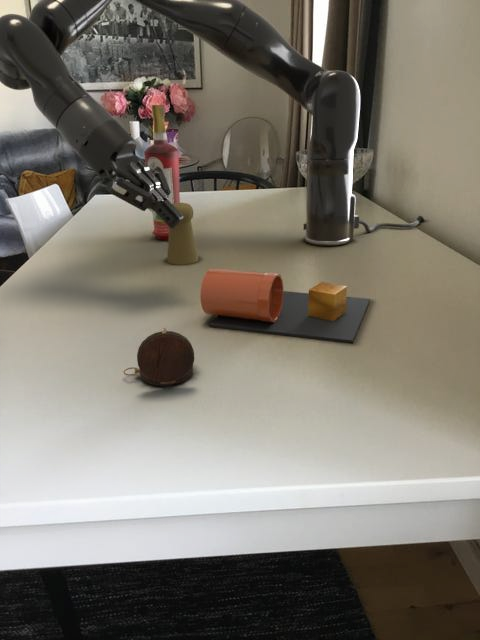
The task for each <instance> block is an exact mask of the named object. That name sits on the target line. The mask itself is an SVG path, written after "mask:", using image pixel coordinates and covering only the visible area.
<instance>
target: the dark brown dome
mask: <svg viewBox="0 0 480 640" xmlns="http://www.w3.org/2000/svg"><path fill="white" fill-rule="evenodd" d="M136 361H137V366H138V367H127V368H125V369H124V370H123V371H122V372H123V374H124V375H126V376H128V377H129V376H136V375H138V374H139V375H140V378H141V379H142V381H144V382H146V383H147V384H150V385H154V386H173V385H176V384H180V383H182V382H184V381H186V380H188V379H189V378H190V377H191V376H192V375H193V373H194V362H195V350H194V347H193V345H192V342H191V341H190V340H189V339H188V338H187V337H186V336H185V335H183V334H181V333H179V332H176V331H172V330H167V329H166V328H165V327H164V328H163V330H162V331H157V332H154V333H152V334H149V335H148V336H147V337H146V338H145V339H144V340H142V341H141V343H140V344H139V346H138V349H137V352H136ZM133 369H134V373H129V374H128V373H126V371H128V370H133Z"/></svg>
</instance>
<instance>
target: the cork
mask: <svg viewBox="0 0 480 640" xmlns="http://www.w3.org/2000/svg"><path fill="white" fill-rule="evenodd" d="M173 206H174V207H175V208H176V209H177V210H178V211H179V212H180V213H181V214H182V215H183V216H184V220H183V221H182V222H181V223H180V224H179V225H178V226H177V227H175V228H170V227H169V240H167V241H168V243H167V244H168V245H167V261H166V262H167V263H168V264H171V265H178V266H180V265H181V266H182V265H191V264H195V263H197V262H198V261H199V255H198V250H197V244H196V240H195V234H194V229H193V224H192V219H194V209H193V206H192V205H191V204H190V203H186V202H180V203H174V204H173Z"/></svg>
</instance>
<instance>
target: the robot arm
mask: <svg viewBox="0 0 480 640" xmlns="http://www.w3.org/2000/svg"><path fill="white" fill-rule="evenodd" d="M112 1H113V0H39V1H38V2H37V3H36V4H34V6H33V7H32V8H31V11H30V13H29V17H26V16H24V15H21V14H16V13H7V14H3V15H1V16H0V83H1V84H2V85H3V86H5V87H6V88H9V89H11V90H15V91H25V90H29V89H30V90H31V93H32V98H33V103H34V104H35V107H36V108H37V109H38V111H39V112H40V113H41V114H42V116H43V117H45V119H46V120H47V121H48V122H49V123H50V124H51V125H52V126H53V127H54V128H55V129H56V130H57V132H59V134H60V135H61V137H62V138H63V139H64V141H65V142H66V143H67V144H68V145H69V147H71V149H72V150H73V151H74V152H75V153H76V154H77V155H78V156H79V157H80V158H81V159H82V161H84V163H86V164H87V166H88V167H89V168H90V169H91V170H92V171H93V172H94V173H95V174H96V175H97V176H98V177H100V178H108V179H109V180H110V181H112V185H111V187H110V188H109V193H110V194H111V195H112V196H114V197H116V198H119V199H120V200H122V201H124V203H128V204H129V205H131V206H133V207H135V208H137V209H138V210H140V211H142V212H145V211H146V210H148V211H150V212H154V211H155V212H156V213H157V214H158V215H159V216H160V218H161V219H162V220H163V221H164V222H165V223H166V224H167V225H168V226H169V227H170V228H175V227H177V226H178V225H179V224H180V223H181V222H182V221H183V220H184V216H183V215H182V214H181V213H180V212H179V211H178V210H177V209H176V208H175V207H174V206H173V204H172V203H171V202H170V201H169V200H168V198H169V197H168V196H169V194H170V193H171V191H170V188H169V186H168V183H167V181H166V178H165V176H164V173H163V171H162V169H161V168H160V167H158V166H157V167H156V168H155V169H154V170H153V169H151V168H149V167H148V166H147V164H146V162H145V160H144V159H142V158H141V157H139V156H138V155H137V154H136V149H137V146H138V145H137V141H136V139H134V138H133V136H132V135H131V134H130V133H129V132H128V131H127V130H126V129H125V128H124V127H123V126H122V124H120V123H119V121H118V120H117V119H115V117H114V116H113V115H112V114H111V113H110V112H109V111H108V110H107V108H106V107H104V106H103V105H102V104H101V103H99V102H98V101H97V99H95V98H94V97H92V95H91V94H90V93H89V91H87V90H86V89H85V88H84V87H83V86H82V85H81V84H80V82H79V81H77V79H76V78H75V77H74V76H73V75H72V73H71V71H70V70H69V68H68V66H67V65H66V63H65V61H64V59H63V58H62V56H63V54H64V52H65V51H66V50H67V49H68V48H69V47H70V46H71V45H73V44H74V43H75V42H76V41H77V40H78V39H80V38H81V37H82V36H83V35H85V34H86V33H87V32H88V31H89V30H90V29H91V28H92V27H93V26H94V25H95V24H96V23H97V22H98V21H99V19H100V18H101V16H102V15H103V14H104V13H105V11H106V10H107V8H108V7H109V5H110V4H111V3H112ZM133 2H136V3H138V4H140V5H142V6H143V7H145V8H147V9H149V10H150V11H153V12H155V13H156V14H158V15H160V16H162V17H164V18H166V19H168V20H169V21H171V22H173V23H175V25H178V26H180V28H182V29H184V30H185V31H187V32H189V33H190V34H192V35H194V36H195V37H197V38H199V39H200V40H201V41H203V42H204V43H206V44H207V45H209V46H210V47H212V49H214V50H216V51H217V52H218V53H220V54H221V55H223V56H224V57H226V58H227V59H229V60H230V61H231V62H233V63H235V64H236V65H238V66H240V67H241V68H243V69H244V70H246V71H248V72H250V73H251V74H253V75H255V76H256V77H258V78H261V79H262V80H264V81H266V82H269V83H270V84H272V85H274V86H275V87H277V88H278V89H279V90H281V91H282V92H284V94H286V95H288V97H290V98H291V99H293V101H294V102H296V103H297V104H298V105H300V106H301V107H302V108H303V109H304V110H305V111H306V112H308V113H309V114H310V116H311V134H310V138H309V139H310V140H309V142H308V143H307V146H306V157H307V158H306V197H305V198H306V201H305V203H306V205H305V207H306V208H305V209H306V210H305V218H306V219H305V223H303V231H305V236H304V237H305V238H304V240H305V241H306V243H309V244H312V245H316V246H332V247H333V246H340V245H345V244H348V243H349V242H354V237H355V230H356V229H359V228H360V225H362V226H363V227H364V230H365V231H366V232H368V233H372V232H374V230H375V229H377V228H381V227H385V228H386V227H388V228H389V227H390V228H403V229H406V228H413V227H416V226H417V225H419V224H420V222H421V223H425V222H426V221H425V219H424V217H423V216H422V215H418V216H417V218H416V220H414V222H411V223H396V222H394V223H393V222H378V223H375V224H374V223H373V224H372V226H371V227H369V224H368V223H367V222H366V221H365V220H363V219H360V216H359V215H357V214H355V213H356V195H355V194H353V193H352V192H353V191H352V190H353V169H354V150H355V147H356V144H357V141H358V134H359V122H360V111H361V91H360V87H359V84H358V82H357V80H356V78H355V77H354V76H353V75H351V74H350V73H349V72H347V71H344V70H339V69H338V70H336V69H335V70H330V69H326V68H324V67H322V66H321V65H319V64H317V63H315V62H314V61H312V60H310V59H309V58H307V57H306V56H304V55H302V54H301V53H300V52H299V51H297V50H296V49H295V48H294V47H293V46H292V45H291V44H290V43H289V42H288V40H287V39H286V38H285V37H284V36H283V35H282V34H281V33H280V31H279V30H278V29H276V27H275V26H274V25H273V24H272V23H271V22H269V20H267V19H266V18H265V17H264V16H262V15H261V14H260V13H259V12H257V11H255V10H254V9H253V8H252V7H250V6H249V5H248V4H246V3H244V2H243V1H241V0H133Z"/></svg>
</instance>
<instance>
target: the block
mask: <svg viewBox="0 0 480 640" xmlns="http://www.w3.org/2000/svg"><path fill="white" fill-rule="evenodd" d="M347 290H348V285H342V284H336V283H331V282H326V281H325V282H324V281H321V282H319V283H318V284H316V285H314V286H313V287H311V288H309V289H308V293H309V306H308V316H311V317H316V318H321V319H325V320H330V321H335V320H336V319H337V318H339V317H340V316H341V315H343V314H344V313H345V312H346V297H347V292H348V291H347Z"/></svg>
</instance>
